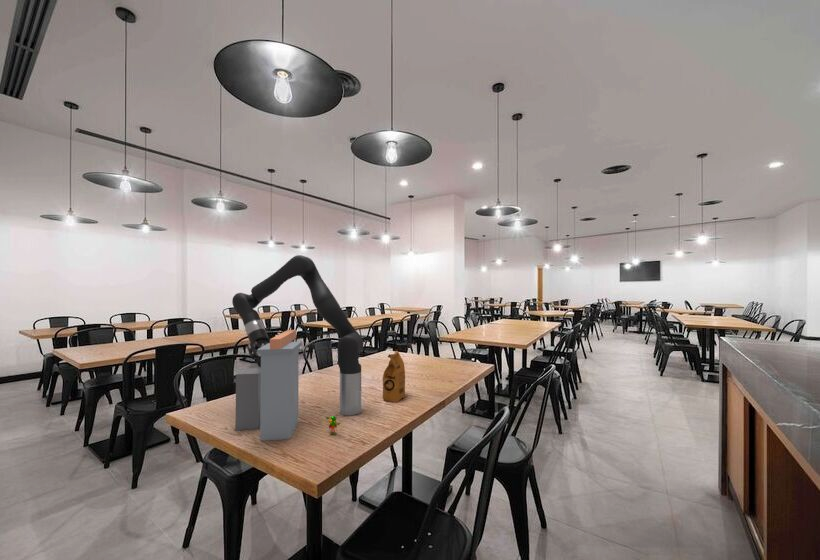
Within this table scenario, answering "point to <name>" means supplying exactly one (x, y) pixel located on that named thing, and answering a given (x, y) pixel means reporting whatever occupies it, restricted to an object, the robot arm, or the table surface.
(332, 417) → the toy character
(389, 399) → the coffee package
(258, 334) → the robot arm
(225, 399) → the table surface
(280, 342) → the bar
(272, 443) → the table surface
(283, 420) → the pedestal
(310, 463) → the table surface
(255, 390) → the shelf
